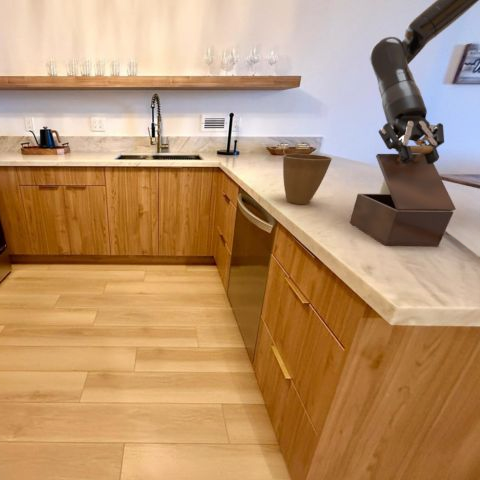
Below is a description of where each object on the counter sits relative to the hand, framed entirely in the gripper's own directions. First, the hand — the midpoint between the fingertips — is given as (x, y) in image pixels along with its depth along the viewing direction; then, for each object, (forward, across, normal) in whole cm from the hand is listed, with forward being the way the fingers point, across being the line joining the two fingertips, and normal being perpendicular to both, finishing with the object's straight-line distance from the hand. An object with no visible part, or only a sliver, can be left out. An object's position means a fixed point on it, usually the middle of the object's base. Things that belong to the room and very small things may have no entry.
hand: (420, 161), depth 67 cm
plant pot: (-7, -13, +36) cm, 38 cm away
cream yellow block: (-1, +13, +29) cm, 32 cm away
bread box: (+13, 0, +14) cm, 19 cm away
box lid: (+3, 0, +4) cm, 5 cm away
